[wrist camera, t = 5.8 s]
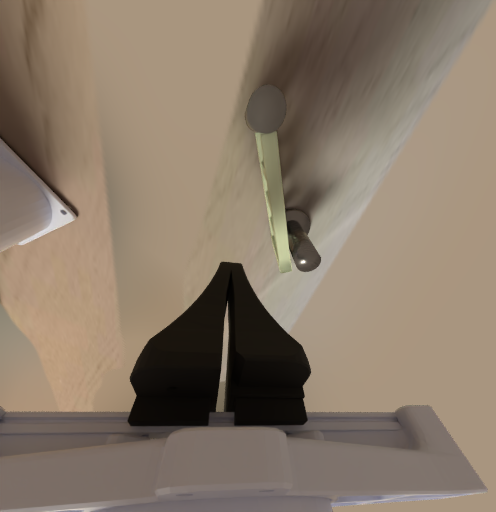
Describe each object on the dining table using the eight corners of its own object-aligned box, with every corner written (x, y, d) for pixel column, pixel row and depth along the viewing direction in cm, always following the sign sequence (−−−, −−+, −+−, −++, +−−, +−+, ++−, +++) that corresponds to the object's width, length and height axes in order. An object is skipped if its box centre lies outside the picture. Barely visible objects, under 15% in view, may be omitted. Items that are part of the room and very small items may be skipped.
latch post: (267, 217, 20) (277, 251, 14) (304, 203, 19) (329, 232, 14) (278, 247, 22) (290, 286, 17) (312, 235, 21) (336, 272, 16)
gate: (242, 103, 14) (243, 90, 9) (268, 96, 14) (284, 79, 9) (267, 242, 21) (275, 277, 16) (284, 238, 21) (298, 273, 16)
